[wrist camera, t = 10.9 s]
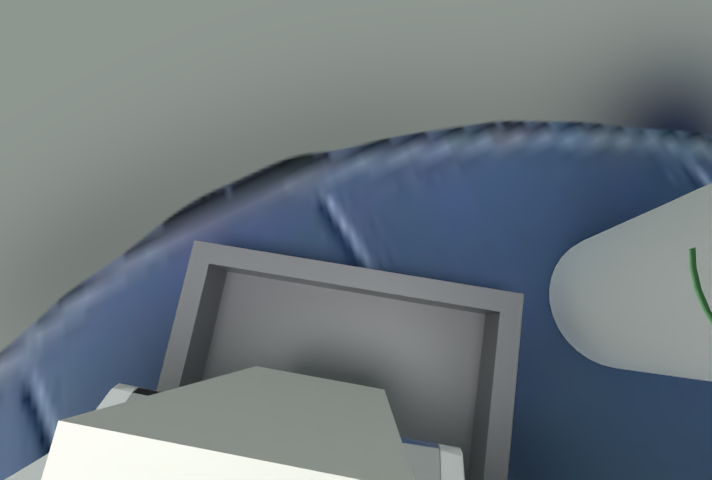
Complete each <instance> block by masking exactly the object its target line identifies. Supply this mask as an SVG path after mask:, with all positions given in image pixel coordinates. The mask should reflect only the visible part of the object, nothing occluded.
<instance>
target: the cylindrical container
mask: <svg viewBox="0 0 712 480" xmlns="http://www.w3.org/2000/svg"><path fill="white" fill-rule="evenodd" d="M549 302H550V307H551V311H552V315H553V318H554V320H555V322H556V324H557V327H558V329H559V330H560V332H561V333H562V335H563V336H564V337H565V339H566V340H567V341H568V342H569V343H570V344H571V345H572V346H573V347H574V348H575V349H576V350H577V351H578V352H579V353H581V354H582V355H584V356H585V357H587V358H588V359H590V360H592V361H594V362H596V363H599V364H601V365H604V366H608V367H612V368H618V369H625V370H632V371H639V372H647V373H654V374H661V375H668V376H675V377H683V378H690V379H697V380H704V381H711V382H712V183H710V184H708V185H706V186H704V187H702V188H699V189H697V190H695V191H693V192H691V193H688V194H686V195H684V196H682V197H680V198H677V199H675V200H673V201H671V202H669V203H666V204H664V205H662V206H660V207H657V208H655V209H653V210H651V211H648V212H646V213H644V214H642V215H639V216H637V217H635V218H633V219H630V220H628V221H626V222H624V223H621V224H619V225H617V226H615V227H612V228H610V229H608V230H606V231H603V232H601V233H599V234H597V235H594V236H592V237H590V238H588V239H585V240H583V241H581V242H580V243H578V244H576V245H575V246H573V247H571V248H570V249H569V250H568V251H567V252H566V253H565V254H564V255H563V256H562V257H561V259H560V260H559V262H558V263H557V265H556V266H555V269H554V271H553V274H552V277H551V281H550V287H549Z"/></svg>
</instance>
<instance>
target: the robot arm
mask: <svg viewBox="0 0 712 480" xmlns="http://www.w3.org/2000/svg"><path fill="white" fill-rule="evenodd" d="M160 392H161V391H155V390H150V389H145V388H141V387H137V386H131V385H126V384H120V383H118V384H117V385H116V386H115V387H113V388H112V389H111V390H110V391H109V392H108V394H107V395H106V396H105V398H104V399H103V400H102V402H101V403H100V404H99V406H98V407H97V408H96V410H99V409H102V408H106V407H110V406H113V405H117V404H120V403H124V402H128V401H131V400H135V399H139V398H142V397H146V396H149V395H153V394H157V393H160ZM400 438H401V441H402V444H403V447H404V450H405V453H406V456H407V459H408V462H409V464H410V467H411V470H412V473H413V476H414V479H415V480H465V476H464V463H463V453H462V451H461V449H460V448H459V447H454V446H448V445H443V444H438V443H435V442H429V441H423V440H417V439H411V438H405V437H400ZM48 454H49V453H48ZM48 454H47V455H45V456H43V457H42V458H40V459H38V460H37V461H35V462H33V463H32V464H30V465H28V466H27V467H25V468H23V469H22V470H20V471H18V472H17V473H15V474H13V475H12V476H10V477H8V478H7V479H5V480H41V478H42V475H43V471H44V468H45V465H46V461H47V458H48Z"/></svg>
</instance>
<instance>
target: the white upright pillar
mask: <svg viewBox="0 0 712 480" xmlns="http://www.w3.org/2000/svg"><path fill="white" fill-rule="evenodd" d="M41 480H415V479H414V476H413V473H412V470H411V467H410V464H409V462H408V459H407V456H406V453H405V450H404V447H403V444H402V441H401V438H400V435H399V432H398V429H397V426H396V423H395V420H394V417H393V414H392V411H391V408H390V405H389V402H388V399H387V396H386V393H385V390H384V389H379V388H374V387H368V386H363V385H357V384H352V383H346V382H341V381H335V380H330V379H324V378H319V377H313V376H308V375H302V374H297V373H292V372H286V371H281V370H275V369H270V368H264V367H259V366H255V367H251V368H247V369H244V370H240V371H236V372H233V373H229V374H226V375H222V376H218V377H215V378H211V379H207V380H204V381H200V382H197V383H193V384H189V385H186V386H182V387H178V388H175V389H171V390H168V391H164V392H160V393H157V394H153V395H149V396H146V397H142V398H139V399H135V400H131V401H128V402H124V403H120V404H117V405H113V406H110V407H106V408H102V409H99V410H95V411H91V412H88V413H84V414H81V415H77V416H73V417H70V418H66V419H62V420H59V421H58V424H57V428H56V431H55V434H54V438H53V441H52V444H51V448H50V451H49V454H48V458H47V461H46V465H45V468H44V471H43V475H42V478H41Z"/></svg>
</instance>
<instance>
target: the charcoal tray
mask: <svg viewBox="0 0 712 480" xmlns="http://www.w3.org/2000/svg"><path fill="white" fill-rule="evenodd" d="M523 300H524V294H521V293H515V292H509V291H503V290H497V289H491V288H484V287H478V286H472V285H466V284H460V283H454V282H447V281H441V280H435V279H429V278H423V277H417V276H410V275H404V274H398V273H392V272H386V271H380V270H374V269H367V268H361V267H355V266H349V265H343V264H337V263H330V262H324V261H318V260H312V259H306V258H300V257H293V256H287V255H281V254H275V253H269V252H263V251H257V250H250V249H244V248H238V247H232V246H226V245H220V244H213V243H207V242H201V241H195V240H194V244H193V248H192V252H191V255H190V259H189V263H188V267H187V271H186V275H185V279H184V283H183V287H182V291H181V295H180V299H179V303H178V307H177V311H176V315H175V319H174V323H173V327H172V331H171V335H170V339H169V343H168V347H167V351H166V354H165V358H164V362H163V366H162V370H161V374H160V378H159V382H158V386H157V390H156V391H161V392H164V391H168V390H171V389H175V388H178V387H182V386H186V385H189V384H193V383H197V382H200V381H204V380H207V379H211V378H215V377H218V376H222V375H226V374H229V373H233V372H236V371H240V370H244V369H247V368H251V367H255V366H259V367H264V368H270V369H275V370H281V371H286V372H292V373H297V374H302V375H308V376H313V377H319V378H324V379H330V380H335V381H341V382H346V383H352V384H357V385H363V386H368V387H374V388H379V389H384V390H385V393H386V396H387V399H388V402H389V405H390V408H391V411H392V414H393V417H394V420H395V423H396V426H397V429H398V432H399V435H400V437H405V438H411V439H417V440H423V441H429V442H435V443H438V444H443V445H448V446H454V447H459V448H460V449H461V451H462V453H463V463H464V476H465V480H507V478H508V467H509V456H510V445H511V433H512V422H513V411H514V400H515V389H516V378H517V366H518V355H519V344H520V333H521V322H522V311H523Z"/></svg>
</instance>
